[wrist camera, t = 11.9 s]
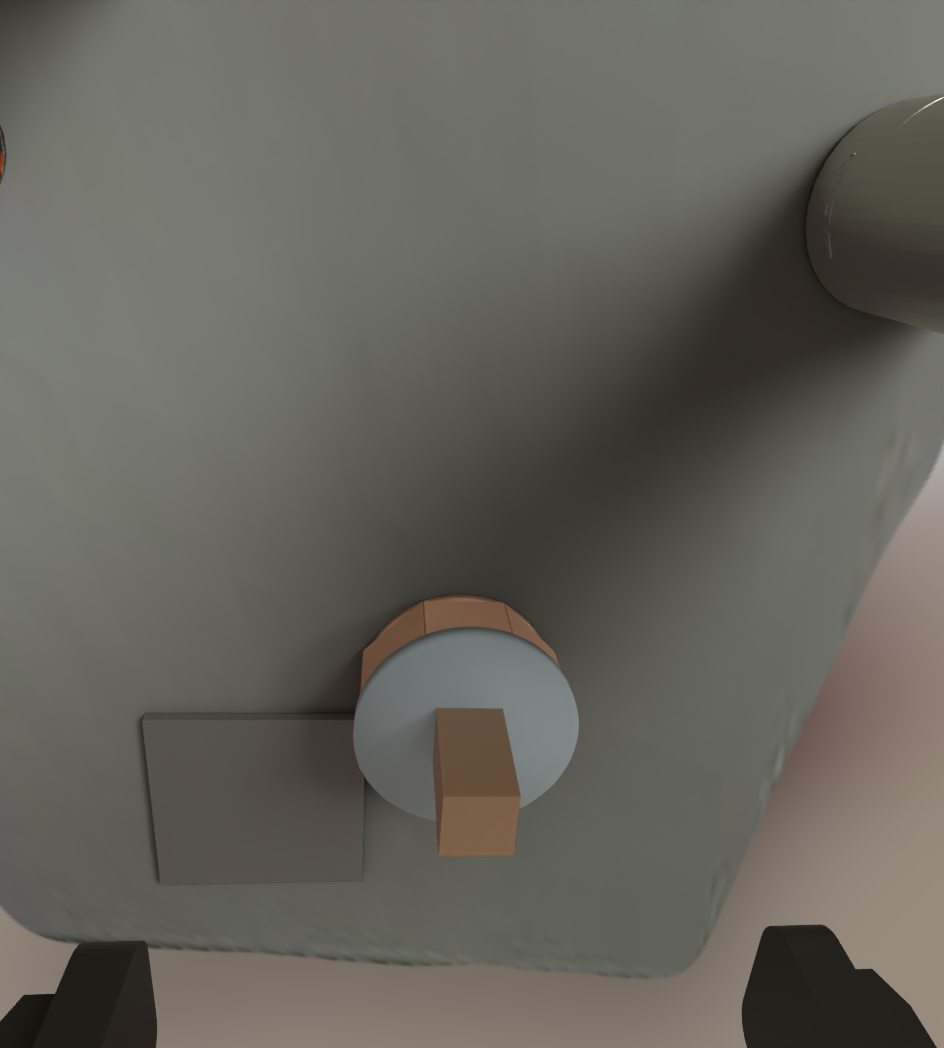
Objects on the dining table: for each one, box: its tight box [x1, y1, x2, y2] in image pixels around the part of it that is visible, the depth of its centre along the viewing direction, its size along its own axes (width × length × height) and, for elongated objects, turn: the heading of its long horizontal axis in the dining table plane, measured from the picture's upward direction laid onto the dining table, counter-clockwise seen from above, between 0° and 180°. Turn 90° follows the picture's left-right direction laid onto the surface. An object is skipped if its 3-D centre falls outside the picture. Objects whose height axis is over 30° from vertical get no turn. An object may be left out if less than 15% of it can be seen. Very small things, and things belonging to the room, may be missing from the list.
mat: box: [142, 713, 365, 885], centre depth 46 cm, size 12×12×1 cm
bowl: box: [359, 594, 559, 770], centre depth 42 cm, size 10×10×5 cm
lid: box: [353, 627, 579, 856], centre depth 36 cm, size 11×11×7 cm
